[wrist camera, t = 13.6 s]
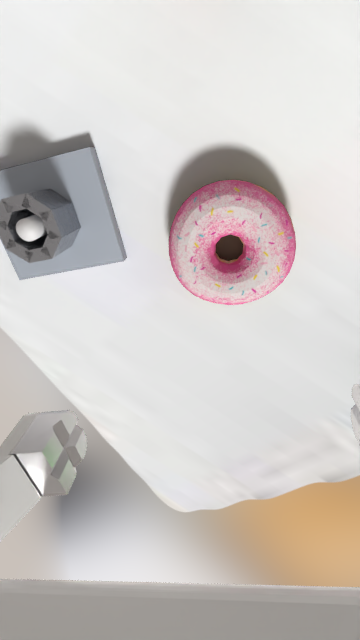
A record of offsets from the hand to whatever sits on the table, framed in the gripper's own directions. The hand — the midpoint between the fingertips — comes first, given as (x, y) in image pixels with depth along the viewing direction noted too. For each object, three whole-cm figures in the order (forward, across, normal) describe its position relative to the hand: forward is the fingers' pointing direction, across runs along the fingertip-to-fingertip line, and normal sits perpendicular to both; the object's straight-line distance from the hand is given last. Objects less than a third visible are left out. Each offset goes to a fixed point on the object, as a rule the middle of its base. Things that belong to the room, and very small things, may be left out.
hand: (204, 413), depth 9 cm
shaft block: (+29, +18, -4) cm, 34 cm away
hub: (+28, +18, -4) cm, 33 cm away
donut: (+30, -2, +2) cm, 30 cm away
